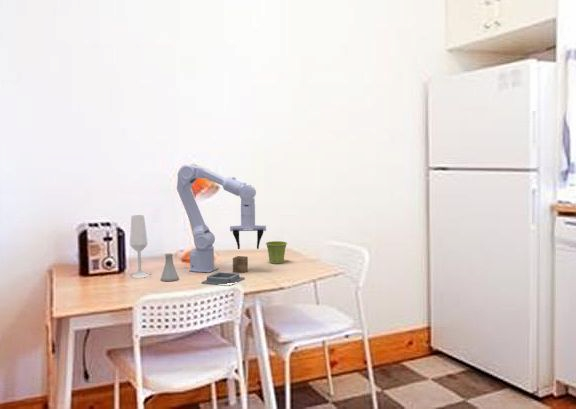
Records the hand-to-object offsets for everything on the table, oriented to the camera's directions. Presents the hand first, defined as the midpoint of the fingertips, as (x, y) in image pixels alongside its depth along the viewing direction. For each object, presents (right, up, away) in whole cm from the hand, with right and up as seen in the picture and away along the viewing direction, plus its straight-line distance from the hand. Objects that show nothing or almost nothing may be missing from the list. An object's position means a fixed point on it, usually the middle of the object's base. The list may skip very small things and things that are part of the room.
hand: (248, 248), depth 231 cm
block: (-3, -9, 0) cm, 10 cm away
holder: (-8, -11, -16) cm, 21 cm away
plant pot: (+11, -8, +18) cm, 22 cm away
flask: (-29, -11, -13) cm, 34 cm away
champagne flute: (-43, -11, -5) cm, 44 cm away
